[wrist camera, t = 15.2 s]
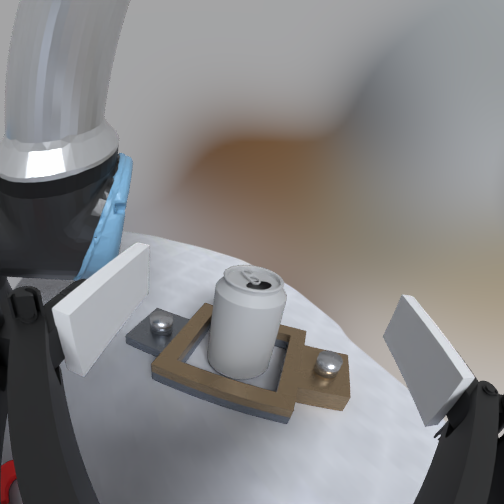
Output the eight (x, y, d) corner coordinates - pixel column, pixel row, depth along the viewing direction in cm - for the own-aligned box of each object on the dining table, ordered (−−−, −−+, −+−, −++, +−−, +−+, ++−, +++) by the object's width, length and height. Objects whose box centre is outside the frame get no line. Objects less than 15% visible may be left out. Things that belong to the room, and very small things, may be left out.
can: (227, 392, 27) (244, 298, 23) (196, 351, 33) (204, 263, 29) (279, 372, 31) (305, 286, 28) (245, 339, 37) (261, 258, 33)
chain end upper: (152, 378, 26) (150, 351, 25) (203, 316, 40) (206, 292, 39) (341, 434, 23) (358, 410, 21) (340, 353, 37) (350, 329, 35)
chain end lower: (109, 357, 27) (106, 338, 26) (168, 304, 41) (169, 287, 40) (287, 424, 24) (295, 407, 23) (301, 344, 38) (307, 327, 37)
